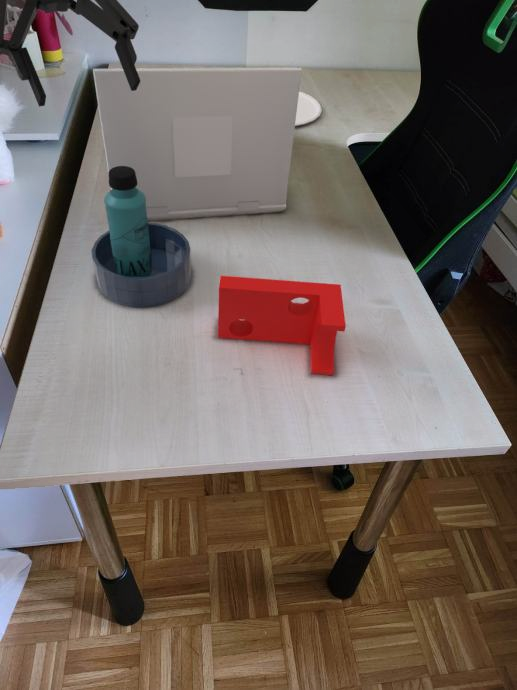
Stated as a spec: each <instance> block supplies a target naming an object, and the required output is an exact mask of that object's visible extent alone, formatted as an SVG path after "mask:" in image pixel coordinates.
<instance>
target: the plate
mask: <svg viewBox="0 0 517 690" xmlns="http://www.w3.org/2000/svg"><path fill="white" fill-rule="evenodd" d="M322 112H323V110H322V105H321V104H320V103H319V101H318V100H317V99H316V98H314V97H312V96H311V95H309V94H308V93H305V92H303V91H300V90H299V96H298V105H297V113H296V121H295V127H298V126H304V125H307V124H310V123H312V122H314V121H315V120H317V119H318V118H320V116H321V114H322Z"/></svg>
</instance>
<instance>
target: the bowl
mask: <svg viewBox="0 0 517 690" xmlns="http://www.w3.org/2000/svg"><path fill="white" fill-rule="evenodd" d="M148 223H149V224H148V226H149V227H148V229H149V241H150V246H151V253H152V254H151V257H152V266H153V267H152V272H151V275H150V276H147V277H127V276H123V275H119V274H115V273H116V272H114V271H115V266H114V265H113V264H114V259H112V258H113V257H112V256H113V253H112V251H111V250H112V246H111V244H110V243H111V240H110V231H109V230H107V231H106V232H104V233H103V234H101V235H100V236H98V238H97V239H96V240H95V241H94V243H93V246H92V249H91V259H92V264H93V268H94V275H95V278H96V283H97V286H98V288H99V290H100V292H101V293H102V294H103V295H104V296H105V298H107V299H108V300H110V301H112V302H113V303H116V304H119V305H121V306H125V307H131V308H132V307H133V308H152V307H157V306H158V307H159V306H161V305H164V304H168V303H170V302H172V301H174V300H175V299H177V298H179V297H180V296H181V295H183V293H185V292H186V290H187V289H188V287H189V286H190V284H191V279H192V258H191V246H190V243H189V240H188V239H187V238H186V236H185V235H184V234H183V233H181V232H180V231H179V230H177V229H176V228H173V227H171V226H169V225H166V224H161V223H156V222H148Z"/></svg>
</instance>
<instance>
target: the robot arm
mask: <svg viewBox="0 0 517 690" xmlns="http://www.w3.org/2000/svg"><path fill="white" fill-rule="evenodd" d="M7 9H8V0H0V56H2V55H5V56H7V57H8V60H9V61H10V62H12V64H13V67H14V69H15V70H16V71H15V72H16V73H17V76H18V78H19V79H20V80H21V81H24V82H25V81H28V83H29V85H30V88H31V90H32V93H33V95H34V98H35V100H36V102H37V105H38V107H45V106H46V100H47V94H46V92H45V90H44V87H43V85H42V83H41V80H40V76H39V75H38V73H37V70H36V68H35V65H34V63H33V61H32V58H31V55H30V53H29V50H28V48H27V47H26V46H25V47H23V46H24V43H25V41H26V39H27V37H28V34H29V32H30V29H31V27H32V24H33V22H34V20H35V18H36V17H37V14H38V11H42V12H44V14H51V13H54V12H61V13H65V12H68V10H70V11H71V12H73V13H75V15H77V16H82V17H83V18H84V19H85V20H87V21H88V22H89V23H91V24H92V25H94V26H95V27H96V28H98V30H100V31H101V32H103V33H104V34H105V35H107V36H108V37H110V38H111V40H113V41H114V42H115V44H114V50H115V52H116V55H117V57H118V60H119V62H120V65H121V67H122V68H121V69H123V70H124V73H125V75H126V78H127V81H128V83H129V86H130V88H131V91H135V90H137V88H138V86H139V83H140V78H139V75H138V73H137V70H136V65H135V64H136V62H137V59H138V56H137V53H136V50H135V48H134V45H133V43H132V40H135V38H136V36H137V34H138V31H139V27H140V26H139V24H138V22H137V21H136V20H135V19H134V18H133V16H132V15H130V13H129V12H128V11H127V9H125V7H123V5H122V4H121V3H120V2H119V1H118V0H94V1H92V0H25V2H24V4H23V6H22V9H21V11H20V15H18V19H17V21H16V23H15V26H14V28H13V30H12V33H11V35H10V38H9V40H8V39H5V33H6V32H5V31H6V22H7V21H6V20H7Z"/></svg>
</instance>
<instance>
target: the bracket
mask: <svg viewBox="0 0 517 690" xmlns="http://www.w3.org/2000/svg"><path fill="white" fill-rule="evenodd" d="M300 298H301V299H305V300H307V301H306V302H303V303H301V302H293V300H296V299H300ZM217 313H218V321H217V323H218V324H217V339H229V340H230V339H231V340H242V341H243V340H244V341H257V342H258V341H259V342H271V343H272V342H273V343H285V344H286V343H287V344H299V345H309V356H310V372H311V373H310V374H311V375H323V376H334V373H335V348H336V347H335V346H336V340H337V334H338V332H342V333H345V332H346V327H347V325H346V317H345V309H344V301H343V293H342V284H340V283H327V282H313V281H299V280H286V279H271V278H261V277H260V278H259V277H246V276H232V275H220V277H219V284H218V312H217Z"/></svg>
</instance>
